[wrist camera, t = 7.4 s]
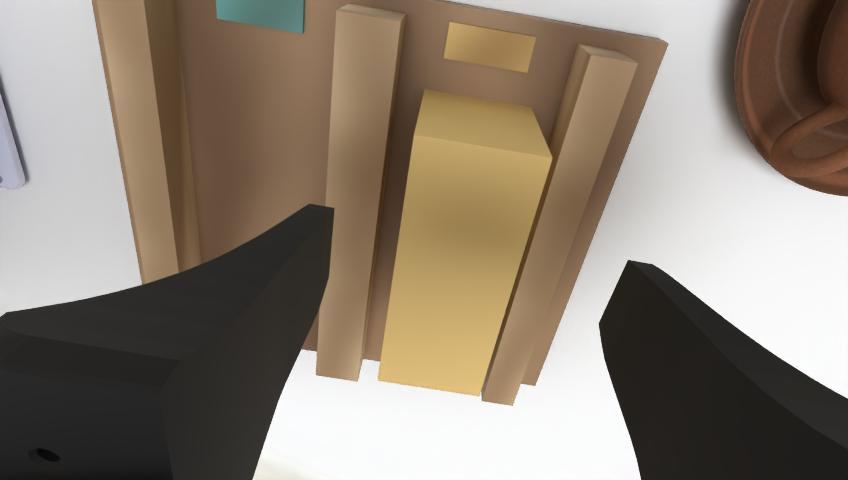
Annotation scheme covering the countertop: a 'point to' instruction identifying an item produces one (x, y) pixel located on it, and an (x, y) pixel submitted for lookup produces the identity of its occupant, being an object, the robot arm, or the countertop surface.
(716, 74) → the countertop surface
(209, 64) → the comb board
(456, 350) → the ochre plug block
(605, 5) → the countertop surface
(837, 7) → the cup and saucer
